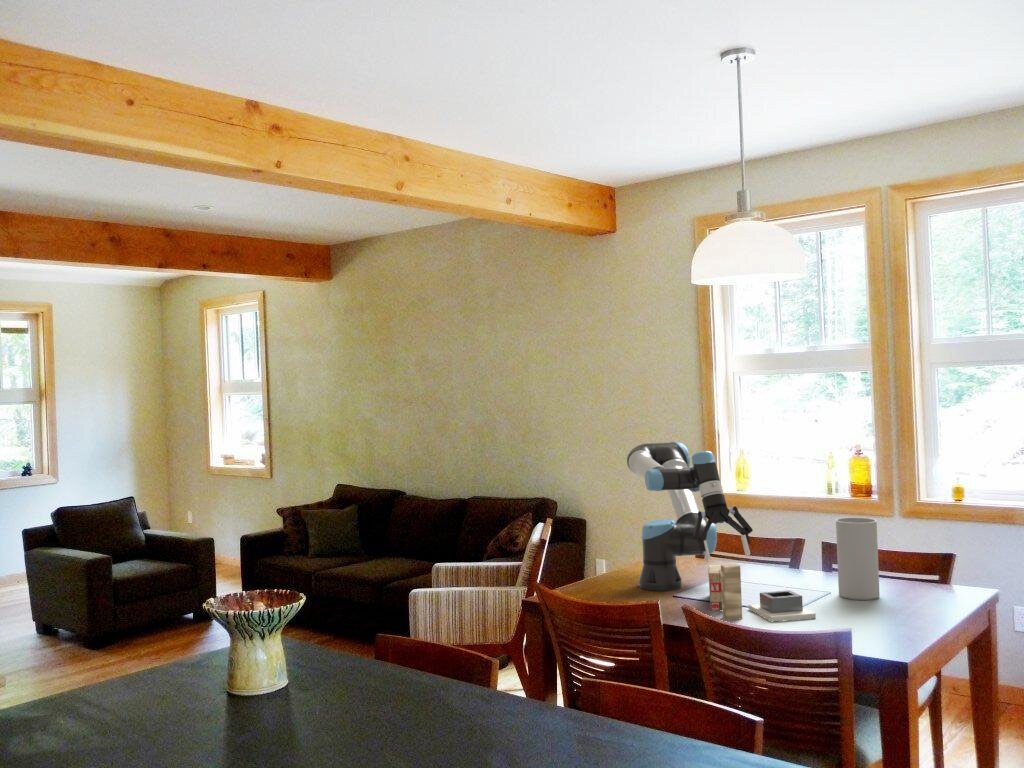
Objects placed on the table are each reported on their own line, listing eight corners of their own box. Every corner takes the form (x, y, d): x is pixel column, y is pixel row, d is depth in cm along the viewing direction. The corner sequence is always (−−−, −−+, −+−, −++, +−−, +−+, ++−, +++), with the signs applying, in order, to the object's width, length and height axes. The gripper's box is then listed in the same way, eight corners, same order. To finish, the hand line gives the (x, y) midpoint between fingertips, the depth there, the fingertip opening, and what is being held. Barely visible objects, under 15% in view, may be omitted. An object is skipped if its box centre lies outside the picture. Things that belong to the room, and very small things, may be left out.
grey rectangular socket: (760, 607, 275) (759, 592, 275) (790, 604, 277) (789, 590, 277) (772, 613, 267) (771, 598, 267) (802, 610, 269) (802, 595, 269)
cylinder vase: (838, 599, 287) (835, 522, 287) (838, 591, 298) (835, 517, 299) (880, 601, 282) (877, 523, 283) (878, 592, 294) (875, 517, 294)
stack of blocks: (709, 595, 300) (707, 559, 300) (728, 595, 298) (726, 559, 299) (710, 611, 279) (709, 572, 279) (731, 611, 277) (729, 572, 278)
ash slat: (722, 617, 270) (720, 565, 270) (738, 616, 271) (736, 564, 271) (726, 619, 267) (724, 567, 267) (742, 618, 268) (740, 565, 268)
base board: (748, 609, 278) (748, 604, 278) (790, 606, 281) (789, 601, 281) (772, 622, 263) (772, 617, 263) (815, 618, 265) (815, 613, 265)
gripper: (679, 497, 293) (695, 560, 285) (751, 488, 296) (768, 550, 288) (674, 504, 300) (689, 565, 292) (744, 494, 303) (760, 555, 295)
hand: (728, 558), depth 290 cm, fingers open, 13 cm apart
